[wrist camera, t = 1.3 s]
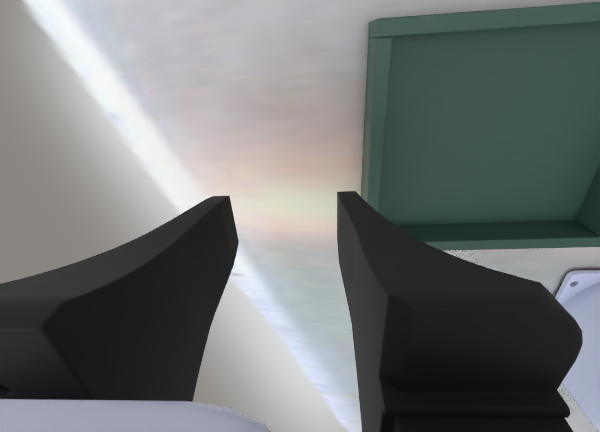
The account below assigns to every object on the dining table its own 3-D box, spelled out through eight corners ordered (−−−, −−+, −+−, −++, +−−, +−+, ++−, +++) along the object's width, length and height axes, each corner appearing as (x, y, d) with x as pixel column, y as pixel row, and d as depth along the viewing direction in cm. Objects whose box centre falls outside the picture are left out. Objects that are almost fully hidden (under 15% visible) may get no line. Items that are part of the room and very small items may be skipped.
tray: (575, 224, 20) (606, 246, 18) (359, 230, 21) (364, 252, 19) (683, -2, 14) (750, -10, 12) (368, 21, 15) (378, 18, 13)
